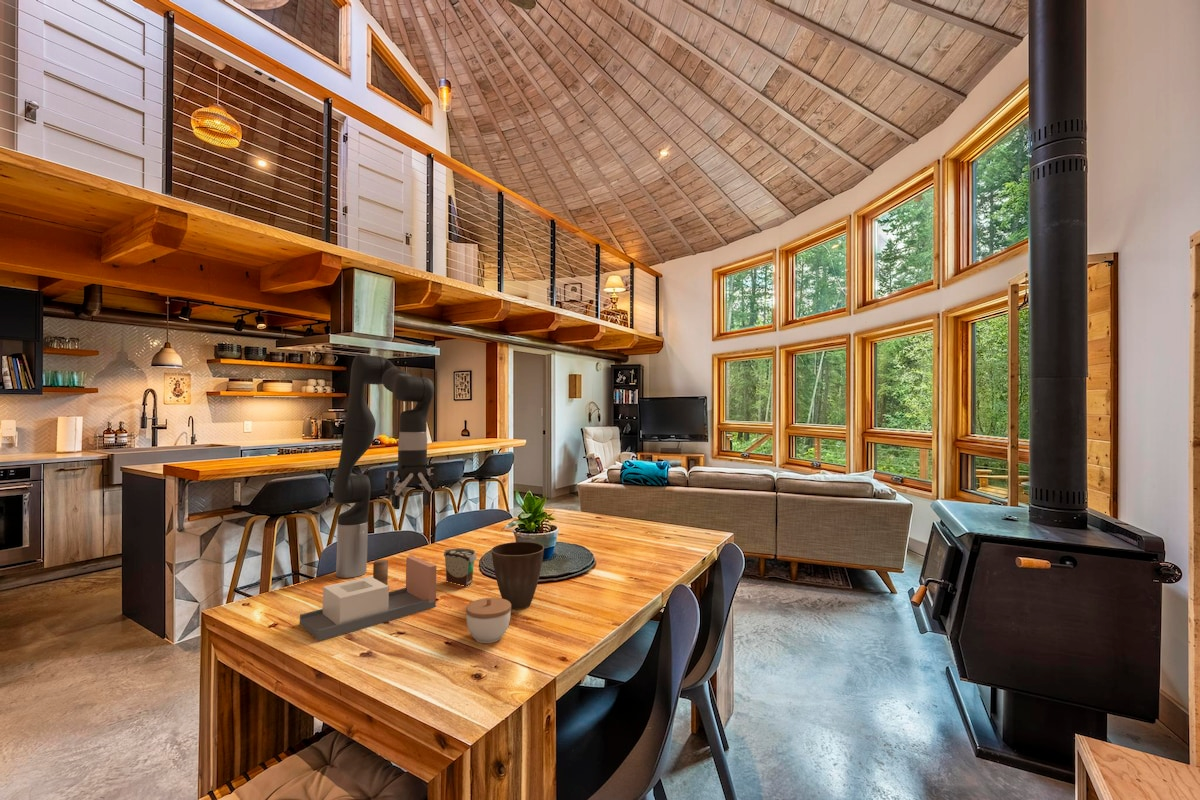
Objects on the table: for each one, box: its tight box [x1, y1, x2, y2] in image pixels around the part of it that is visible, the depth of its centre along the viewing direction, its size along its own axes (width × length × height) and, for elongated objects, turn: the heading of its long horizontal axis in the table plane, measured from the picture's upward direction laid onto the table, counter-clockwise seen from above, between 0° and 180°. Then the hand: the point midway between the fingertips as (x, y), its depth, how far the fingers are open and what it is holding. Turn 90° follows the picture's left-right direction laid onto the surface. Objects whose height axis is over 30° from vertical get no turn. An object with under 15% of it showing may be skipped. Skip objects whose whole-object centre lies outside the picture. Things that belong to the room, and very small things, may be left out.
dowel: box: [372, 559, 389, 586], centre depth 148 cm, size 4×4×10 cm
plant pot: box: [491, 541, 545, 610], centre depth 142 cm, size 15×15×16 cm
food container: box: [443, 547, 477, 586], centre depth 160 cm, size 12×6×10 cm, turn 58°
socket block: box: [322, 575, 390, 625], centre depth 130 cm, size 12×12×7 cm
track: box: [299, 555, 437, 642], centre depth 133 cm, size 14×30×12 cm, turn 137°
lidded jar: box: [465, 597, 512, 644], centre depth 120 cm, size 11×11×9 cm
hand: (411, 506), depth 137 cm, fingers open, 8 cm apart
